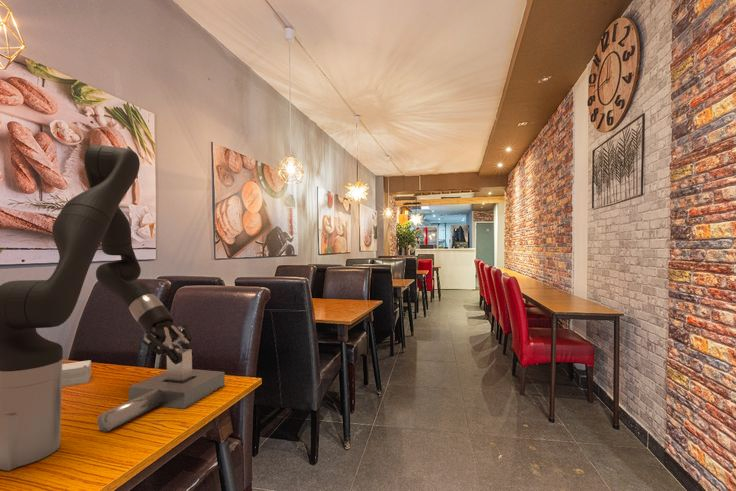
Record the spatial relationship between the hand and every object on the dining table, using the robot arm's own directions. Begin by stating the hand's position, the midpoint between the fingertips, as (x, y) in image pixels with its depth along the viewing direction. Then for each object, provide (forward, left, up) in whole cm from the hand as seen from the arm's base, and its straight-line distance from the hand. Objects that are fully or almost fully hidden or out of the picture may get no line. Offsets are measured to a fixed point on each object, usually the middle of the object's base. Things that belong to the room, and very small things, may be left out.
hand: (185, 359), depth 93 cm
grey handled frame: (-7, +2, -10) cm, 12 cm away
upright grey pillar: (0, +2, -9) cm, 9 cm away
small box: (+1, +41, -10) cm, 42 cm away
